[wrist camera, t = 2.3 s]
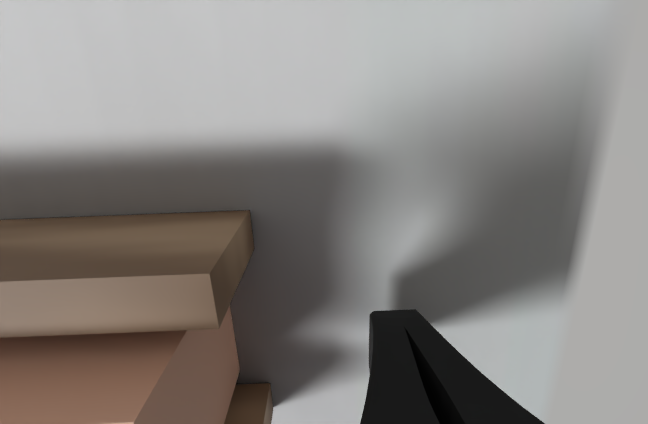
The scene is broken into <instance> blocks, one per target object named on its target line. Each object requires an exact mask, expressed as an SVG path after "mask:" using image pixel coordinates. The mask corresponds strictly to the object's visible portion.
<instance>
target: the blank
mask: <svg viewBox="0 0 648 424" xmlns="http://www.w3.org/2000/svg"><path fill="white" fill-rule="evenodd" d="M239 371H240V367H239V361H238V354H237V348H236V342H235V335H234V329H233V323H232V316H231V310H230V305H229V308H228V310H227V312H226V314H225V317H224V319H223V321H222V324H221V326H220V328H219V329H205V330H179V331H154V332H129V333H104V334H79V335H54V336H29V337H4V338H0V424H224V422H225V419H226V415H227V412H228V409H229V405H230V402H231V398H232V395H233V392H234V388H235V385H236V381H237V378H238V375H239Z"/></svg>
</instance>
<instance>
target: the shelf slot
mask: <svg viewBox="0 0 648 424" xmlns="http://www.w3.org/2000/svg"><path fill="white" fill-rule="evenodd" d="M253 251H254V241H253V233H252V225H251V216H250V210H245V211H219V212H193V213H166V214H140V215H114V216H87V217H61V218H35V219H8V220H0V338H4V337H29V336H54V335H79V334H104V333H129V332H154V331H179V330H205V329H219V328H220V326H221V324H222V321H223V319H224V317H225V314H226V312H227V310H228V308H229V305H230V303H231V301H232V299H233V296H234V294H235V292H236V289H237V287H238V285H239V283H240V280H241V278H242V276H243V273H244V271H245V269H246V267H247V264H248V262H249V260H250V257H251V255H252V253H253ZM272 413H273V402H272V394H271V386H270V383H264V384H239V385H235V388H234V392H233V395H232V398H231V402H230V405H229V409H228V412H227V415H226V419H225V422H224V424H271V420H272Z"/></svg>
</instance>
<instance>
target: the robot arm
mask: <svg viewBox="0 0 648 424" xmlns="http://www.w3.org/2000/svg"><path fill="white" fill-rule="evenodd" d="M369 368H370V378H369V384H368V390H367V396H366V401H365V405H364V410H363V414H362V419H361V423H360V424H544V423H543V422H542V421H540V420H539V419H538V418H536V417H535V416H534V415H532V414H531V413H530V412H528V411H527V410H526V409H524V408H523V407H522V406H521V405H519V404H518V403H517V402H516V401H514V400H513V399H512V398H510V397H509V396H508V395H507V394H506V393H504V392H503V391H502V390H501V389H500V388H498V387H497V386H496V385H495V384H494V383H493V382H491V381H490V380H489V379H488V378H487V377H485V376H484V375H483V374H482V373H481V372H480V371H479V370H477V369H476V368H475V367H474V366H473V365H472V364H471V363H470V362H469V361H468V360H467V359H466V358H464V357H463V356H462V355H461V354H460V353H459V352H458V351H457V350H456V349H455V348H454V347H453V346H452V345H451V344H450V343H449V342H448V341H447V340H446V339H445V338H444V337H443V336H442V335H441V334H440V333H439V332H438V331H437V330H436V329H435V328H434V327H433V326H432V325H431V324H430V323H429V322H428V321H427V320H426V319H425V318H424V317H423V316H422V315H421V314H420V313H419V312H418V311H416V310H391V311H373V312H372V313H371V314H370V328H369Z"/></svg>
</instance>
